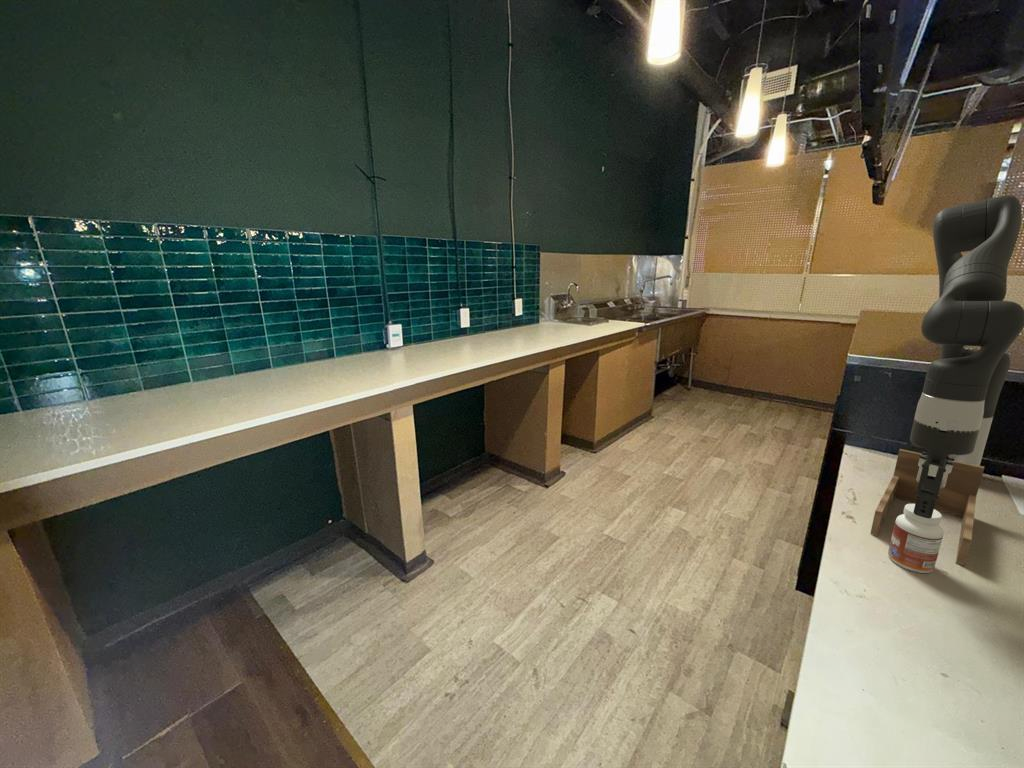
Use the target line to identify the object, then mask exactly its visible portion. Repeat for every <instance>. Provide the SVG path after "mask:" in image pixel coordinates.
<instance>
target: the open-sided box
mask: <svg viewBox="0 0 1024 768" xmlns="http://www.w3.org/2000/svg"><path fill="white" fill-rule="evenodd" d="M897 453H898V455H897V459H896V462H895V463H896V464H895V467H894V472H893V475H892V478H891V480H890V481H889V484H888V486H887V487H886V489H885V491H884V493H883V495H882V497H881V498H880V500H879V503H878V504H877V506H876V508H875V511H874V515H873V520H872V525H871V530H870V533H871V534H870V535H872V534H874V535H873V536H875V535H877V536H878V534H879V532H880V530H881V527H882V525H883V524H884V522H885V519H886V517H887V514H888V513H889V510H890V508H891V506H892V505H893V502H894V500H895V499H897V500H902V501H905V502H907V503H911V504H915V503H916V499H917V496H916V493H915V492H916V490H917V489H918V484H919V482H917V480H916V479H917V474H918V471H919V465H918V463H919V459H920V456H921V454H922V452H917V451H911V450H907V449H903V448H899V449H898V452H897ZM984 470H985V466H984V465H983V466H982V465H980V466H979V465H974V464H969V463H965V462H960V461H955V460H954V462H953V467H952V471H951V473H949V474H948V477H947V481H946V485H945V487H944V488H940V490H939V494H938V495H939V499H937V501H936V502H935V506H934V509H935V510H937V511H939V512H940V511H941V512H944V513H946V514H947V513H948V514H952V515H956V516H959V517H962V521H961V528H960V533H959V540H958V547H957V553H956V559H955V564H957V565H959V566H963V567H965V564H966V559H967V556H968V554H969V550H970V547H971V543H972V539H973V530H974V529H973V528H974V522H975V521H974V519H975V512H976V502H977V495H978V492H979V488H980V485H981V483H982V482H981V481H982V478H983V475H984V472H985V471H984ZM882 523H883V524H882Z"/></svg>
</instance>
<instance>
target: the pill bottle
mask: <svg viewBox="0 0 1024 768" xmlns="http://www.w3.org/2000/svg"><path fill="white" fill-rule="evenodd" d="M914 508H915V503H907V504H905V505H904V508H903V513H902V514H899V515H897V516H896V519H895V522H894V526H893V529H892V534H891V537H890V538H891V539H890V541H889V542H890V543H889V547H888V552H887V555H888V558H889V559H890V560H891V561H892V562H893V563H895V564H896V565H897V566H899V567H901V568H903V569H905V570H908V571H910V572H911V571H912V572H916V573H920V574H928V573H929V574H930V573H932V572H933V571H934V570H935V568H936V564H937V560H938V556H939V553H940V549H941V545H942V541H943V540H944V539H943V538H944V534H945V533H944V532H945V531H944V529H943V527H942V525H940V523H941V521H942V518H943V516H942V514H941V512H940V511H939V510H937V509H934V510H933V514H932V517H931V518H924V517H921V516H918V515H915V514H914Z"/></svg>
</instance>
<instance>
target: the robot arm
mask: <svg viewBox="0 0 1024 768" xmlns="http://www.w3.org/2000/svg"><path fill="white" fill-rule="evenodd" d="M1022 211H1023V210H1022V206H1021V202H1020V200H1019V199H1018V197H1016V196H1015V195H1014V196H1013V195H1002V196H995V197H990V198H987V199H981V200H977V201H972V202H967V203H962V204H958V205H954V206H949V207H946V208H944V209H941V210H939V212H938V213H937V214H936V216H935V218H934V221H933V225H932V227H933V228H932V236H933V237H932V238H933V245H934V251H935V252H934V253H935V257H936V265H937V271H938V281H939V283H938V285H939V286H938V287H939V289H938V290H939V293H938V299H937V300H936V301H935V302H934V303H933V304H932V305H931V307H929V309H928V311H927V312H926V313H925V315H924V317H923V318H922V322H921V326H920V327H921V328H920V329H921V334H922V336H923V337H924V339H926V340H927V341H929V342H930V343H933V344H937V345H941V349H940V350H941V351H940V359H934V360H933V361H931V362H930V364H929V365H928V367H927V371H926V375H925V379H924V384H923V388H922V392H921V395H920V398H919V400H918V402H917V406H916V410H915V413H914V418H913V423H912V427H911V432H910V437H909V441H910V442H911V444H912V445H914V446H915V447H917V448H920V449H924V450H925V451H922V452H921V453H922V454H921V456H920V459H919V463H918V465H919V471H918V474H917V479H916V480H917V482H919V484H918V489H917V490H916V492H915V493H916V496H917V499H916V503H914V504H915V508H914V514H915V515H918V516H921V517H924V518H931V517H932V514H933V510H934V506H935V502H936V501H937V499H939V495H938V494H939V490H940V488H944V487H945V485H946V481H947V477H948V474H949V473H951V471H952V467H953V462H954V460H955V461H960V462H965V463H969V464H974V465H979V466H981V462H982V459H983V455H984V451H985V447H986V444H987V440H988V438H989V433H990V430H991V425H992V424H993V423H992V422H993V419H994V415H995V412H996V408H997V406H998V405H997V404H998V401H999V398H1000V394H1001V393H1002V392H1001V391H1002V389H1003V386H1004V383H1005V381H1006V378H1007V375H1008V372H1009V370H1010V366H1011V358H1010V355H1009V354H1008V353H1007V350H1008V349H1009V348H1010V347H1011V346H1012V344H1013V343H1014V342H1015V340H1016V339H1017V338H1018V337H1019V336H1020V334H1021V332H1022V330H1024V307H1023V306H1021V305H1020V304H1019V303H1018V302H1015V301H1010V300H1005V298H1006V295H1007V284H1008V283H1007V281H1008V280H1007V279H1008V267H1009V263H1010V260H1011V258H1012V256H1013V253H1014V251H1015V248H1016V244H1017V241H1018V239H1019V235H1020V232H1021V227H1022V217H1023V216H1022ZM966 252H967V253H966ZM962 253H966V254H964V255H963V254H962ZM968 346H969V347H979V349H974V348H973V349H972V348H970V349H969V348H964V347H968ZM926 451H927V452H926Z"/></svg>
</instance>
